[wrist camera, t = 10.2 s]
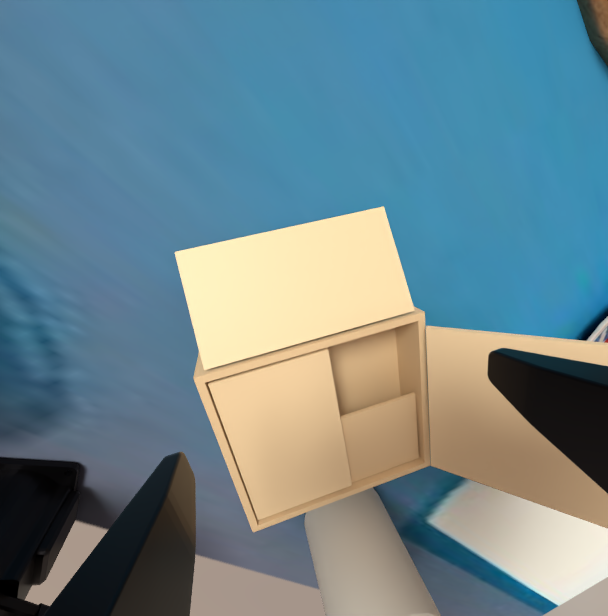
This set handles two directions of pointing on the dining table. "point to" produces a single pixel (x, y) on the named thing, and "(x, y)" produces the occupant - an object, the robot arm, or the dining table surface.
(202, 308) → the carton
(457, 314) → the dining table surface
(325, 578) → the can
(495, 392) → the flap
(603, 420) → the robot arm
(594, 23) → the trivet
